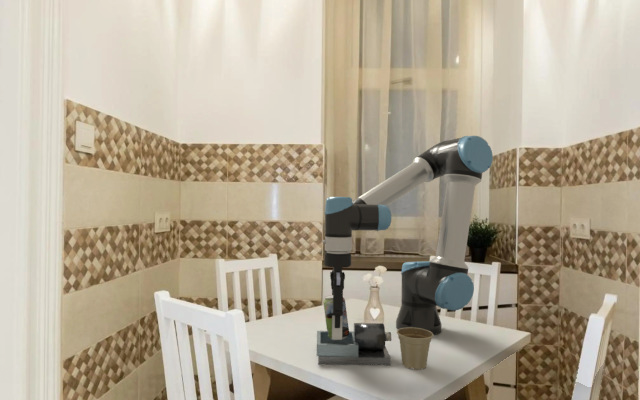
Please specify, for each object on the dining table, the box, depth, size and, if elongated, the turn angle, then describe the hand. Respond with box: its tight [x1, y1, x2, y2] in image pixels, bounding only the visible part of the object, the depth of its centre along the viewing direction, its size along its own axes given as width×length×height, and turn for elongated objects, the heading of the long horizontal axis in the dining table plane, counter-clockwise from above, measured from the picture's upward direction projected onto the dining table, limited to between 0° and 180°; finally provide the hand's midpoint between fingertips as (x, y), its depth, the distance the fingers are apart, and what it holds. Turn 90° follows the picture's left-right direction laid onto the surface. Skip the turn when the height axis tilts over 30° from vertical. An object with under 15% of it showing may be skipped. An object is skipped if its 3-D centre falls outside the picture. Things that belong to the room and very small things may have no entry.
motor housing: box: [316, 322, 392, 366], centre depth 114 cm, size 20×13×9 cm, turn 90°
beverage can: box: [323, 294, 350, 339], centre depth 114 cm, size 6×7×12 cm
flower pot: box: [396, 327, 434, 371], centre depth 108 cm, size 9×9×9 cm
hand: (336, 334), depth 114 cm, fingers closed on beverage can, 6 cm apart
